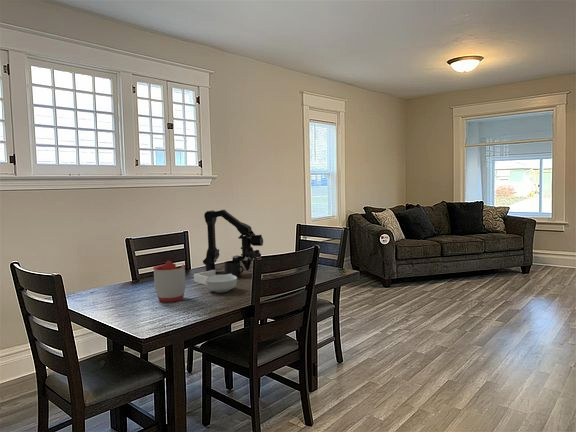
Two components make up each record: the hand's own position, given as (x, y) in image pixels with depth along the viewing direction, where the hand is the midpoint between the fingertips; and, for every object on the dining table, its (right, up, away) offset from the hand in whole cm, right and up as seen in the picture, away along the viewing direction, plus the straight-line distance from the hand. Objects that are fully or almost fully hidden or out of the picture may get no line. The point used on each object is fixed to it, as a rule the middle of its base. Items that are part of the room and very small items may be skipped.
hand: (247, 270), depth 282 cm
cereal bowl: (-10, -6, -40) cm, 41 cm away
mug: (-7, -3, -7) cm, 10 cm away
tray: (-18, -4, -17) cm, 25 cm away
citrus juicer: (-33, -8, -53) cm, 63 cm away
